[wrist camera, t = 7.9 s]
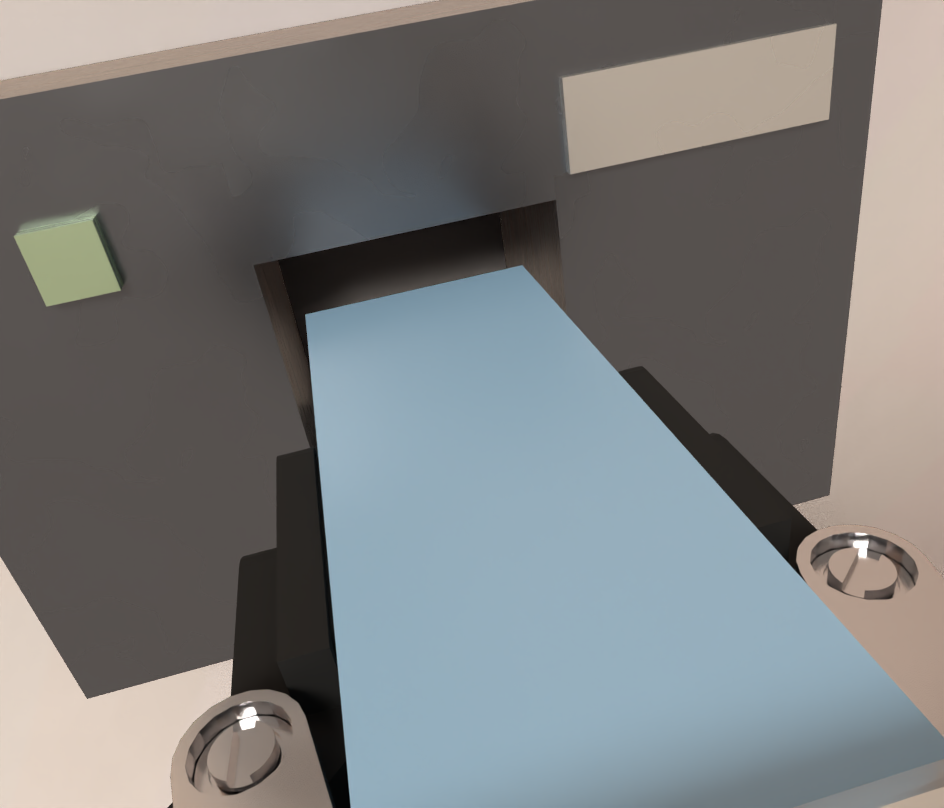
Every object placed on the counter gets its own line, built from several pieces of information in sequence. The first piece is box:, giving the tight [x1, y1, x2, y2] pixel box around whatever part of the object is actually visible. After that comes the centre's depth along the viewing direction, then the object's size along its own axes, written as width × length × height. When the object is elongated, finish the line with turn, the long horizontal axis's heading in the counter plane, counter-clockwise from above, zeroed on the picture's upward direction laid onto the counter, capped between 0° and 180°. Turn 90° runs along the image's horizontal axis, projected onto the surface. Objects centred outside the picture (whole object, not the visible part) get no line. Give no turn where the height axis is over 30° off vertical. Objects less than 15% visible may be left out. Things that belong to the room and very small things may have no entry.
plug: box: [305, 265, 944, 808], centre depth 10 cm, size 4×4×12 cm
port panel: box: [0, 0, 882, 699], centre depth 17 cm, size 18×12×5 cm, turn 99°
